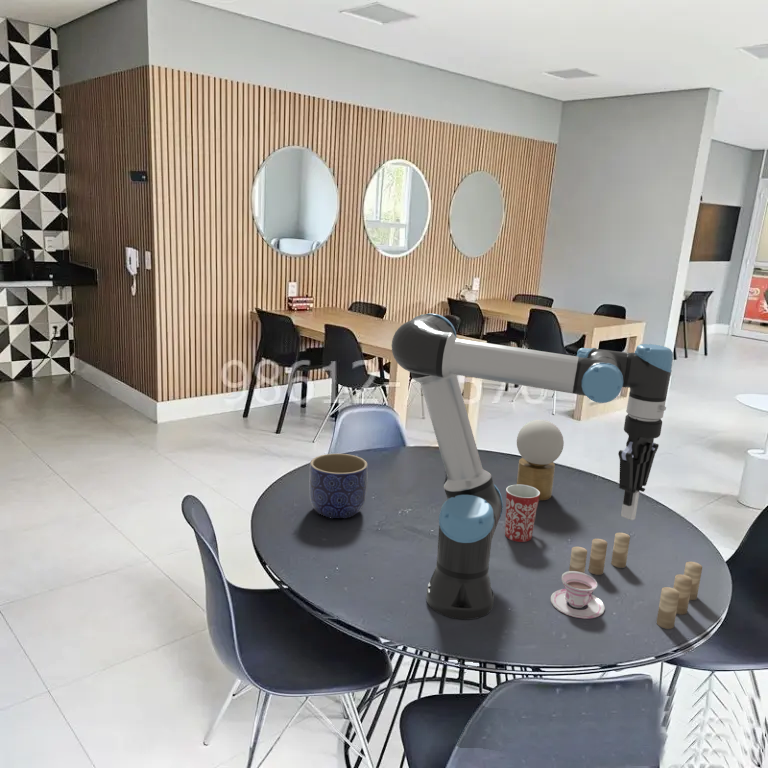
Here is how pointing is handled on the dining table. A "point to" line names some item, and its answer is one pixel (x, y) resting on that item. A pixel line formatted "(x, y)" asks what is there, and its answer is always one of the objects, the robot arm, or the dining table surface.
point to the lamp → (538, 455)
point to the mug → (520, 512)
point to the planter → (338, 484)
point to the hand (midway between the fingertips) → (627, 517)
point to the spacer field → (670, 597)
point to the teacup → (578, 596)
